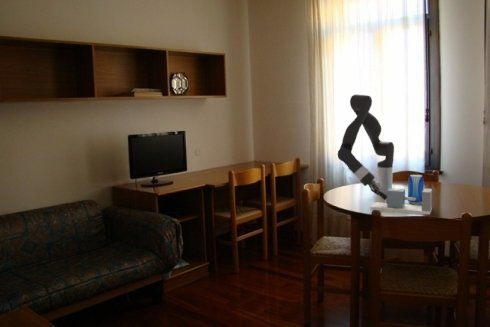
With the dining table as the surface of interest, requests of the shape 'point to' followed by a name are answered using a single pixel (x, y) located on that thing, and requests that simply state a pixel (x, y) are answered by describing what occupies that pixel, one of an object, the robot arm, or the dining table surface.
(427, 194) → the board
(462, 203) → the dining table surface
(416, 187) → the beer can
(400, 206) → the gauge carriage
